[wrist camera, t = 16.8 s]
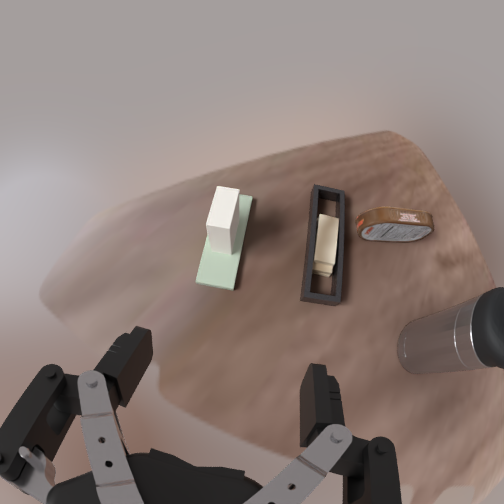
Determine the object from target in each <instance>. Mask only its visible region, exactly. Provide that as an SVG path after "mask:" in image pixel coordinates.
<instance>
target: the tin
mask: <svg viewBox="0 0 504 504" xmlns="http://www.w3.org/2000/svg"><path fill="white" fill-rule="evenodd" d="M355 223H356V226H357V232H358V235H359V237H360V238H362V239H364V240H369V241H385V242H413V241H417V240H420V239H423V238H424V237H426V236H427V235H429V234H430V233H432V232H433V231H434V224H433V220H432V215H431V213H429V212H427V211H422V210H414V209H405V208H397V207H387V206H385V207H377V208H372V209H369V210H367V211H364V212H363V213H361V214H360V215H358V216H357V218H356V220H355Z"/></svg>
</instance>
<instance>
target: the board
mask: <svg viewBox="0 0 504 504" xmlns="http://www.w3.org/2000/svg"><path fill="white" fill-rule="evenodd" d="M251 203H252V196H246V195H240V194H239V224H238V228H237V233H236V237H235V241H234V246H233V250H232V255H228V254H223V253H217V252H212V250H211V245H210V241H209V236H208V235H207V239H206V243H205V246H204V250H203V254H202V258H201V262H200V266H199V270H198V274H197V278H196V283H197V284H202V285H207V286H212V287H217V288H222V289H227V290H234V285H235V280H236V275H237V270H238V265H239V261H240V256H241V251H242V246H243V241H244V236H245V232H246V227H247V222H248V217H249V212H250V208H251Z"/></svg>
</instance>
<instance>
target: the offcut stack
mask: <svg viewBox="0 0 504 504" xmlns="http://www.w3.org/2000/svg"><path fill="white" fill-rule="evenodd" d="M338 224H339V219H338V218H335V217H331V216H327V215H323V214H320V215H319V218H317V221H316V234H315V246H314V257H313V267H312V274H316V275H320V276H325V277H329V276H330V275H331V274H332V268H333V266H334V264H335V257H336V247H337V236H338Z"/></svg>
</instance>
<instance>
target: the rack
mask: <svg viewBox="0 0 504 504" xmlns="http://www.w3.org/2000/svg"><path fill="white" fill-rule="evenodd" d="M318 198H322V199H327V200H331V201H336V218H338V219H339V224H338V236H337V247H336V257H335V264H334V266H333V276H332V288H331V296H330V295H324V294H317V293H311V292H310V286H311V277H312V267H313V257H314V246H315V234H316V221H317V206H318ZM344 209H345V201H344V191H342V190H338V189H333V188H329V187H324V186H320V185H315V184H314V186H313V189H312V191H311V199H310V212H309V223H308V234H307V245H306V254H305V264H304V273H303V281H302V289H301V297H300V301H304V302H311V303H317V304H324V305H331V306H336V305H337V304H339V303H340V301H341V288H342V273H343V253H344Z"/></svg>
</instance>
